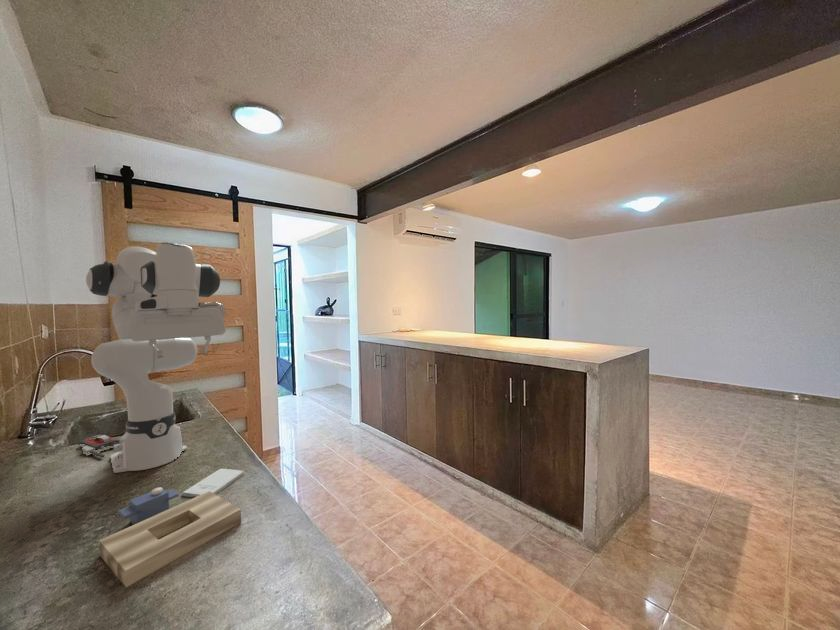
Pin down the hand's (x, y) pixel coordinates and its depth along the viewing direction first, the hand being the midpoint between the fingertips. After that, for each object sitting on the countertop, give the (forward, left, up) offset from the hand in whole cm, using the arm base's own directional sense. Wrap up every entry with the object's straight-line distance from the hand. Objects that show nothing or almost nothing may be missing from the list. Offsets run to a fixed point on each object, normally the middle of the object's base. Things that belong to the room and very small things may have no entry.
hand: (182, 355), depth 86 cm
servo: (+6, -10, -36) cm, 38 cm away
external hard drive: (+4, +5, -37) cm, 37 cm away
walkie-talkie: (-53, -4, -36) cm, 65 cm away
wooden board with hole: (+19, -10, -36) cm, 41 cm away
